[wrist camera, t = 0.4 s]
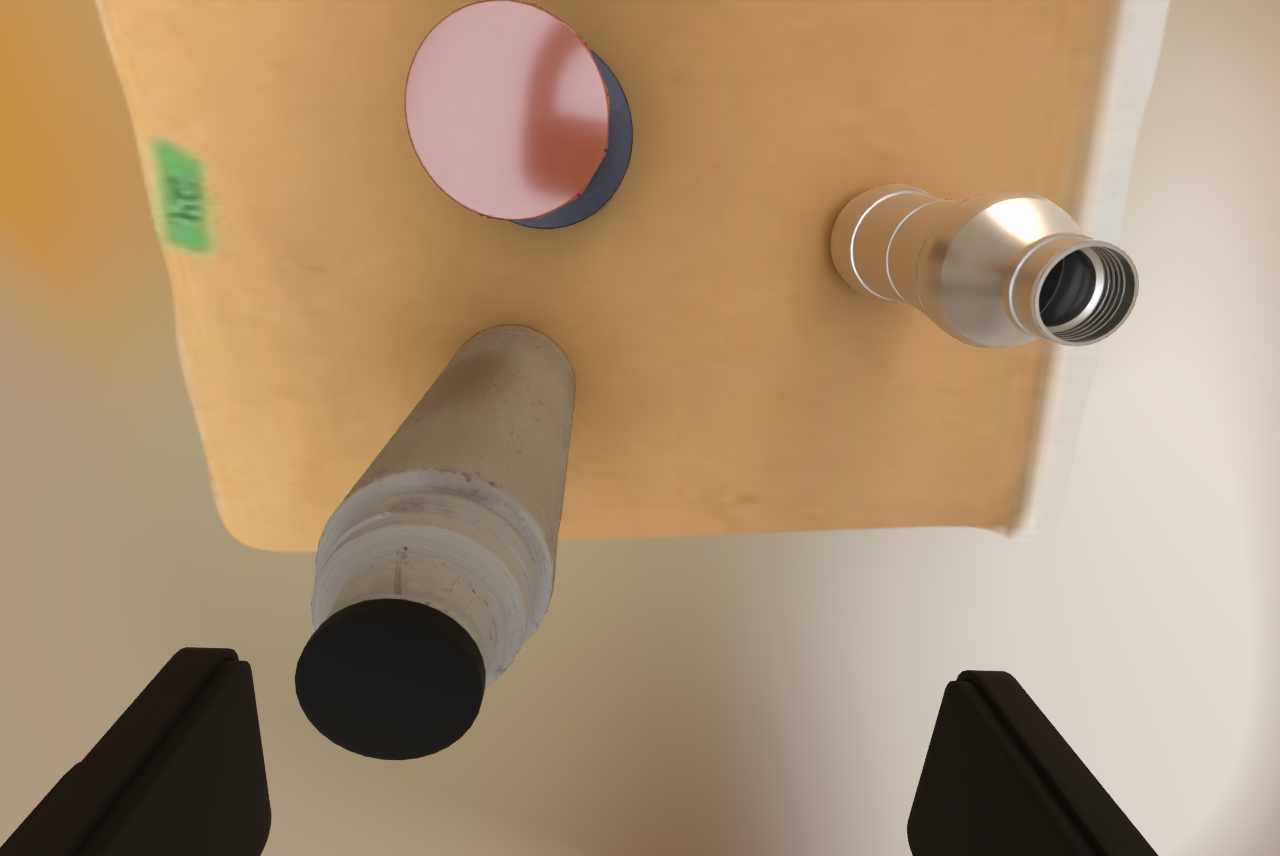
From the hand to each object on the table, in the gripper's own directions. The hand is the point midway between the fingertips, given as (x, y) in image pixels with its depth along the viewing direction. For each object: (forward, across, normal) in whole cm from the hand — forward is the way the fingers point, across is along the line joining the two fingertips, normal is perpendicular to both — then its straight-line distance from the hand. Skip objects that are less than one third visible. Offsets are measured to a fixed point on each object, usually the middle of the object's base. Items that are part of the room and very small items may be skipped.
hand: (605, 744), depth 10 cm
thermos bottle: (+36, +5, +6) cm, 37 cm away
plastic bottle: (+36, -16, -4) cm, 40 cm away
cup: (+28, +4, -9) cm, 30 cm away
